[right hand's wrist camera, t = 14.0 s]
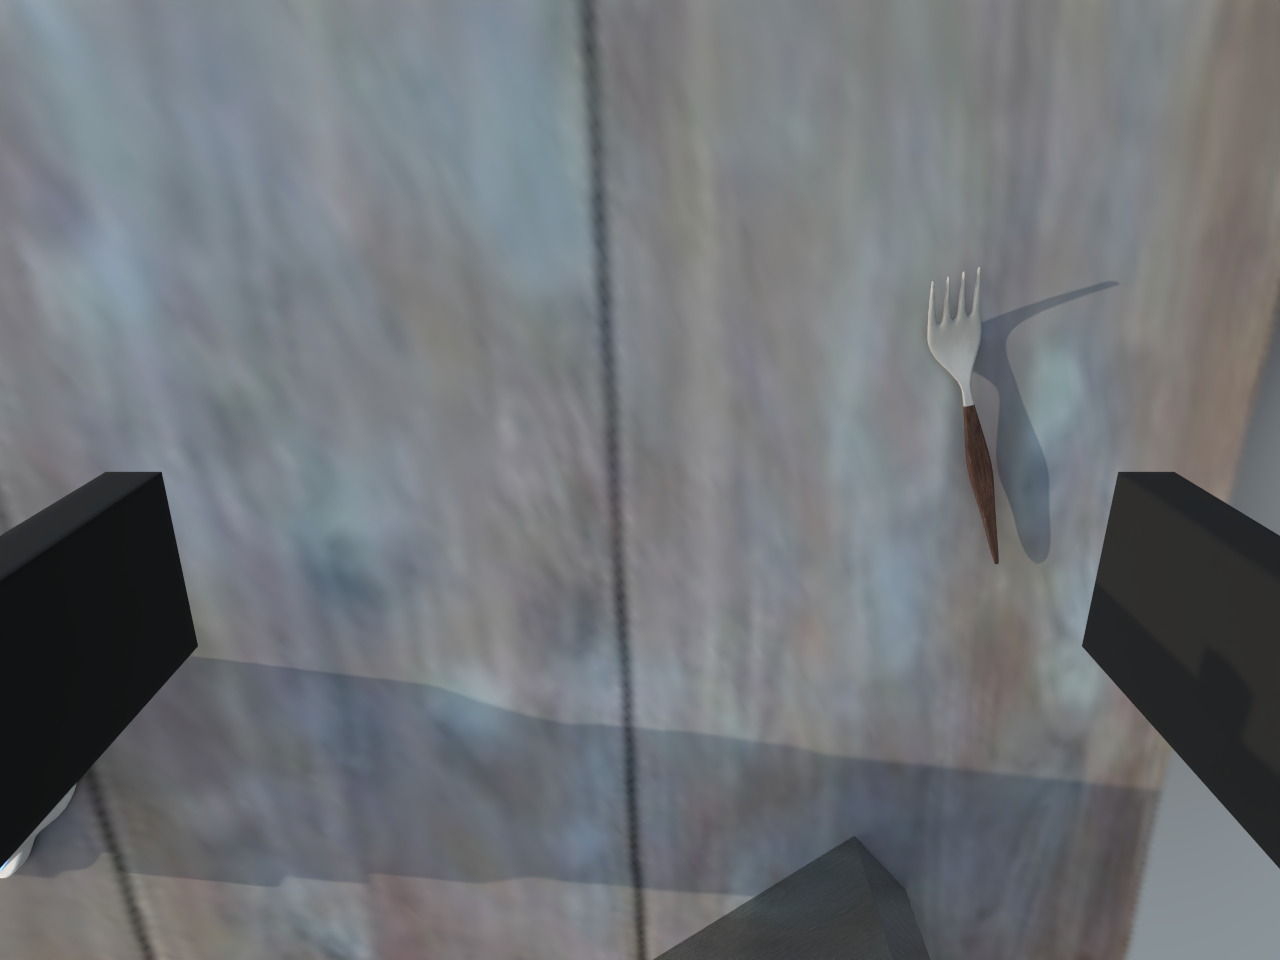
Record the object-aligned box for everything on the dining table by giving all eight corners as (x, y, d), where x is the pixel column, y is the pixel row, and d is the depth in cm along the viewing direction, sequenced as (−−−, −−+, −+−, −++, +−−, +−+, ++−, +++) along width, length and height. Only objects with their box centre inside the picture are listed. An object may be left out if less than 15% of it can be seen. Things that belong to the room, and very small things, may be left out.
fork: (968, 565, 47) (981, 583, 45) (914, 276, 41) (927, 282, 39) (1017, 553, 46) (1032, 570, 45) (969, 260, 41) (985, 265, 39)
